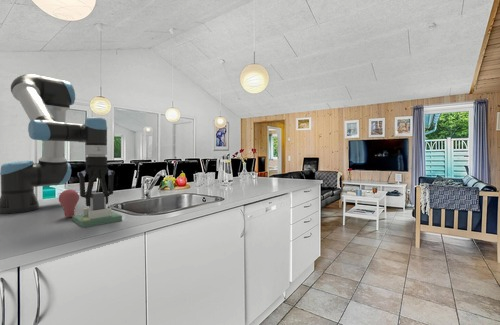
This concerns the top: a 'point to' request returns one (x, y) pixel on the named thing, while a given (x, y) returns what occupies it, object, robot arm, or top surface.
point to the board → (96, 217)
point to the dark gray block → (98, 200)
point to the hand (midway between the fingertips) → (97, 212)
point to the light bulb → (69, 202)
